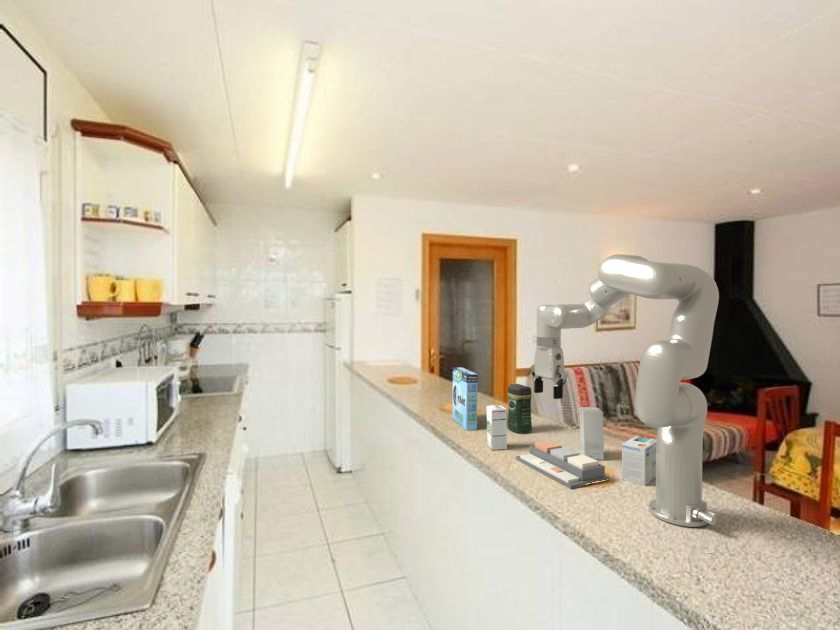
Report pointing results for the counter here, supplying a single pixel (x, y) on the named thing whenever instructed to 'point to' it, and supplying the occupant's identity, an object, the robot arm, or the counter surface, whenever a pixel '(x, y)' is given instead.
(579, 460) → the cream key
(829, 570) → the counter surface
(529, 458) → the keypad
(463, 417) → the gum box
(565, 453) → the grey key
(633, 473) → the light bulb box
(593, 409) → the skincare box
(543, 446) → the terracotta key
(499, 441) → the syrup box
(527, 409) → the coffee jar
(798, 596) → the counter surface
